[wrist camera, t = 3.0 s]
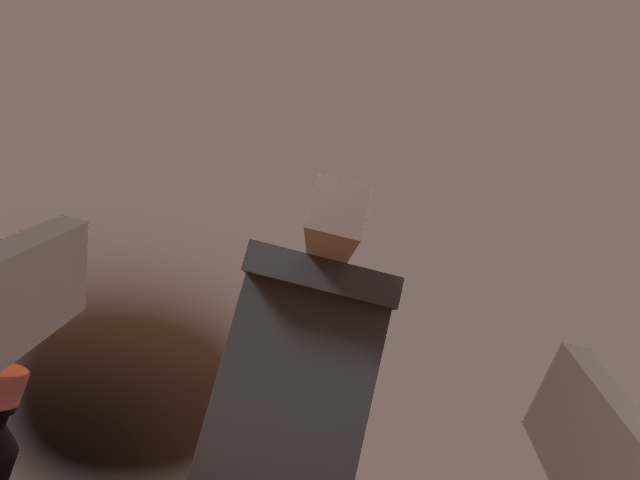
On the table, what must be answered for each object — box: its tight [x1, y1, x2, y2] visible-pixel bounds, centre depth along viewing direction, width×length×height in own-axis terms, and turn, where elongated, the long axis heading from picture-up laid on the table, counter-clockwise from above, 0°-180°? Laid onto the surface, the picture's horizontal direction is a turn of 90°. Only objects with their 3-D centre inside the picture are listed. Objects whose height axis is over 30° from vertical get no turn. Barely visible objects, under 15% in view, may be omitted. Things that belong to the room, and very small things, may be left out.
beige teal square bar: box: [304, 173, 374, 263], centre depth 29 cm, size 21×3×3 cm, turn 1°
